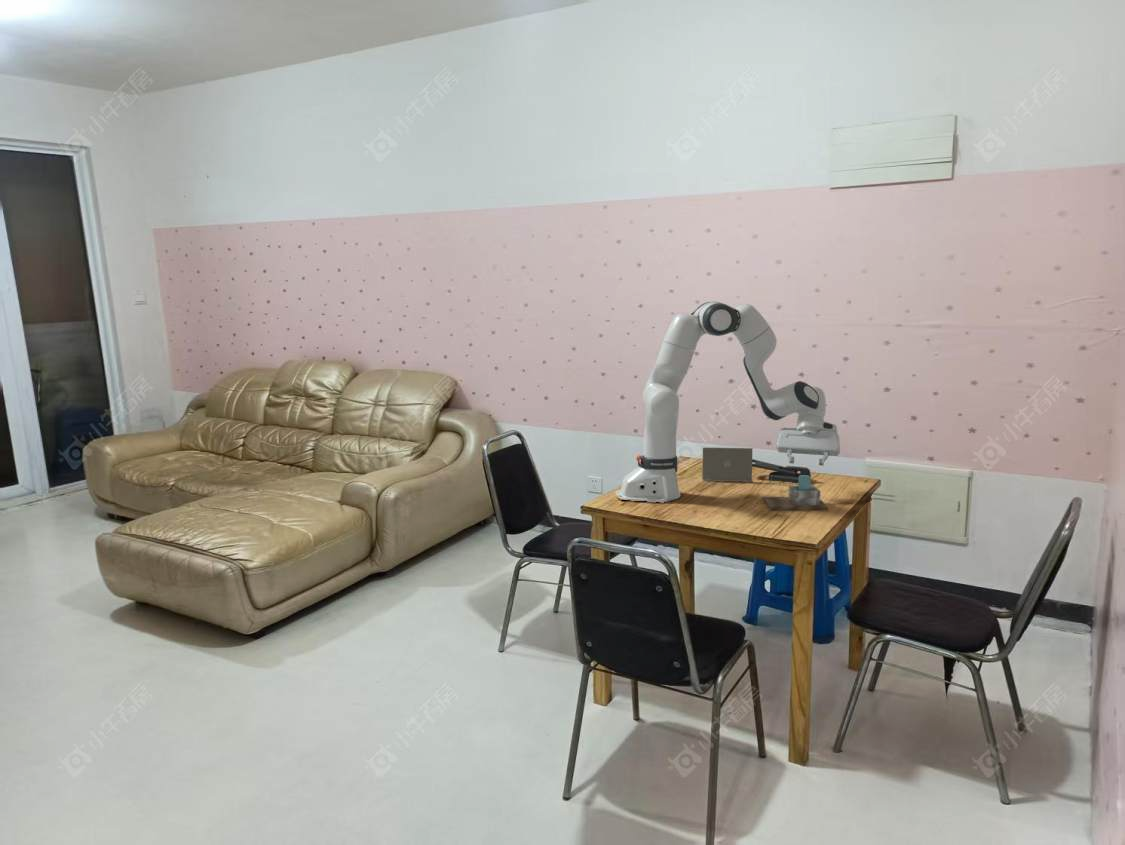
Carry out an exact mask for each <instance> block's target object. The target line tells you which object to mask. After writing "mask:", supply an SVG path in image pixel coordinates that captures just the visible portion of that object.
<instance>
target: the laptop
mask: <svg viewBox="0 0 1125 845" xmlns="http://www.w3.org/2000/svg"><path fill="white" fill-rule="evenodd" d="M752 459H753V448H750V447H706V446H705V447H704V446H703V447H702V472H701V477H702V478H701V480H702V482H724V481H740V482H739V483H752V480H753V477H752V476H753V467H752V463H753V462H752ZM741 481H743V482H741Z"/></svg>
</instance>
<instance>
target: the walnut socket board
mask: <svg viewBox="0 0 1125 845" xmlns="http://www.w3.org/2000/svg"><path fill="white" fill-rule="evenodd" d="M762 502H764V504H765V505H766V507H767V508H769V510H770V511H773V512H774V511H775V512H777V511H778V512H781V511H782V512H783V511H793V512H795V511H798V512H799V511H829V506H828V505H827V504H826V503H825V502H824V501H822V499H821V491H820V489H818V488H817V487H816V486H815V485H813V484H811V488H810V491H798V484H794V485H793V484H792V485H788V496H763V497H762Z"/></svg>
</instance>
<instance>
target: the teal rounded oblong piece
mask: <svg viewBox="0 0 1125 845" xmlns="http://www.w3.org/2000/svg"><path fill="white" fill-rule="evenodd" d="M797 485H798V491H810V488H811V485H812V475H811V476H808V475H800V476H799V483H798V484H797Z"/></svg>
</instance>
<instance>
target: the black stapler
mask: <svg viewBox="0 0 1125 845" xmlns="http://www.w3.org/2000/svg"><path fill="white" fill-rule="evenodd" d="M752 468H758V469H764V470H768V471H772V472H769V474H768V480H769V479H770V480H769V481H771V482H775V481H782V482H781V483H784V482H792V483H799V476H800V475H808V476H811V477H812V474H811V470H810V469H809V468H808V467H803V466H795V465H787V466H783V465H778V464H774V463H770V462H765V461H763V460H762V461H761V460H758V459H754V458H752ZM792 483H791V484H792Z"/></svg>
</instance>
